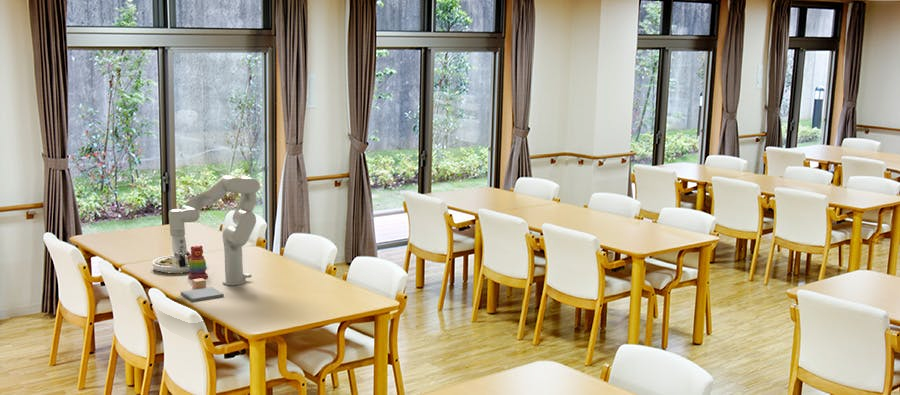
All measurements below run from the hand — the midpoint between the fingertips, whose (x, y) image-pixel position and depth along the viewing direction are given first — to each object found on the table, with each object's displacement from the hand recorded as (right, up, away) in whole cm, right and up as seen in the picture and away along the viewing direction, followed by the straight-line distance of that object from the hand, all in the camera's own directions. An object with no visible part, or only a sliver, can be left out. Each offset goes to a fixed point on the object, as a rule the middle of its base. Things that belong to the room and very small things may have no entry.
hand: (180, 264), depth 496 cm
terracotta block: (+8, -13, +8) cm, 18 cm away
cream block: (0, -1, 0) cm, 1 cm away
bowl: (-16, -6, +52) cm, 55 cm away
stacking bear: (+1, -9, +33) cm, 34 cm away
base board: (+13, -16, -5) cm, 21 cm away
